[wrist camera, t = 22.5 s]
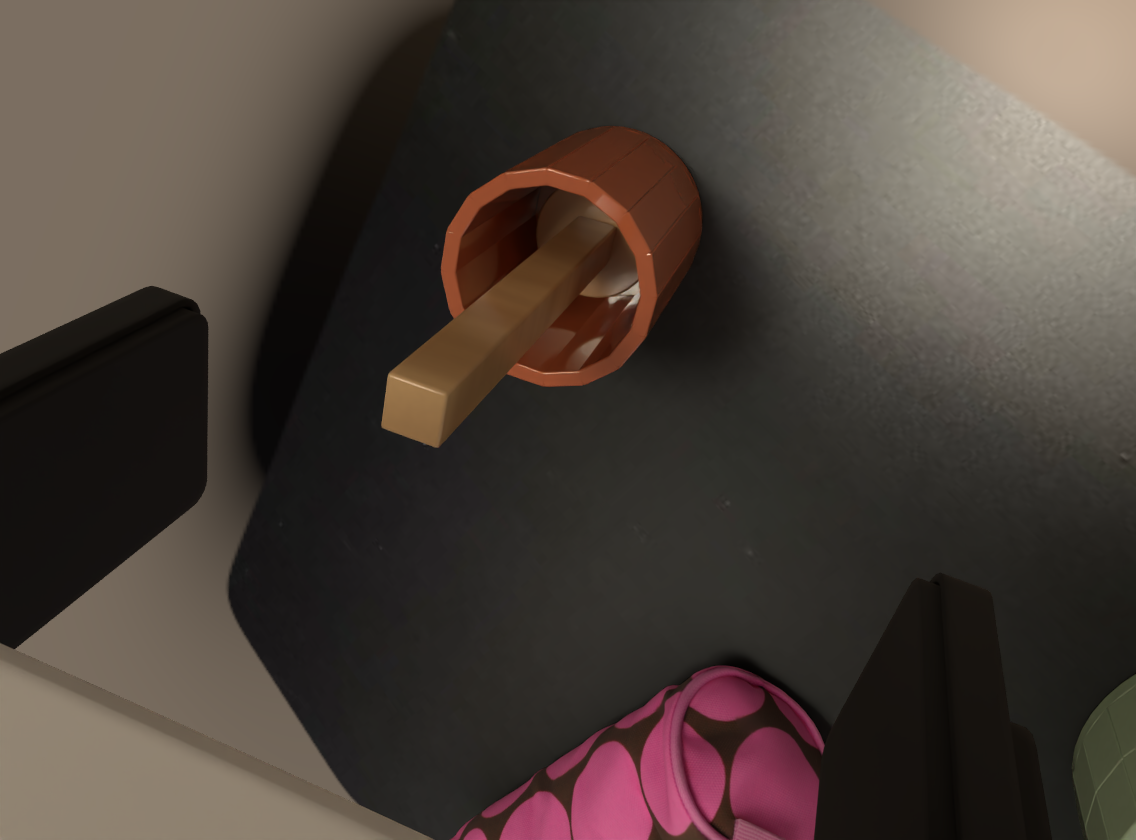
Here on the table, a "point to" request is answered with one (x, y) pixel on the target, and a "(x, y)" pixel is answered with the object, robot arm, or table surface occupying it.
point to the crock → (624, 193)
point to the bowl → (1108, 767)
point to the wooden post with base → (508, 319)
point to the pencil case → (677, 772)
